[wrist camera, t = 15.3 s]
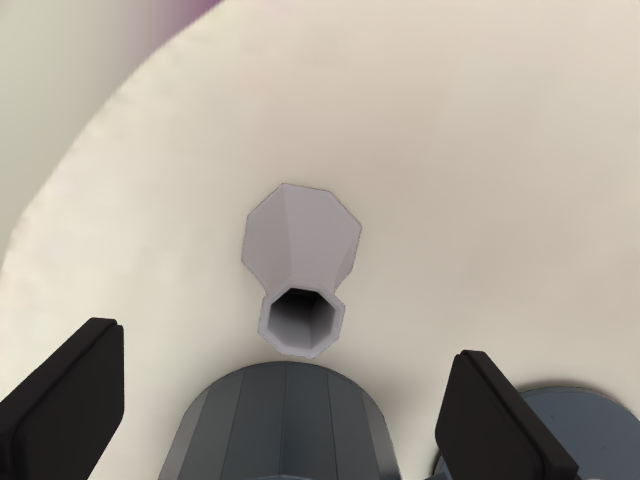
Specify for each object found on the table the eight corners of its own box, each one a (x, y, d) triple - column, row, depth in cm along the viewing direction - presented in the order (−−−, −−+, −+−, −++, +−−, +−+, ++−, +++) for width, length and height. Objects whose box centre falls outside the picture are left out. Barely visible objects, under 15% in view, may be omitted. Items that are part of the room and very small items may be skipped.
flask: (222, 264, 24) (169, 356, 14) (276, 161, 22) (258, 188, 13) (323, 314, 25) (336, 428, 16) (381, 219, 24) (436, 284, 14)
